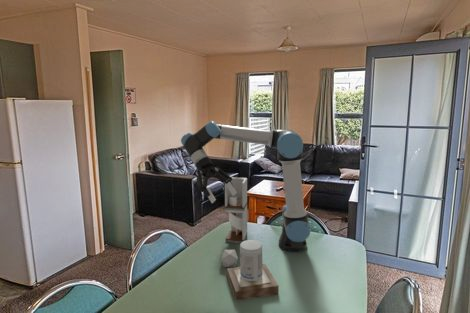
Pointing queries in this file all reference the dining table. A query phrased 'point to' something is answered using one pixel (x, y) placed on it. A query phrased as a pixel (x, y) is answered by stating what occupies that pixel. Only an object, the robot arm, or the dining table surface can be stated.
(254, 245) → the supplement tub
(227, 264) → the die
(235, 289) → the walnut platform
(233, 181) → the display case
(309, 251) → the dining table surface
